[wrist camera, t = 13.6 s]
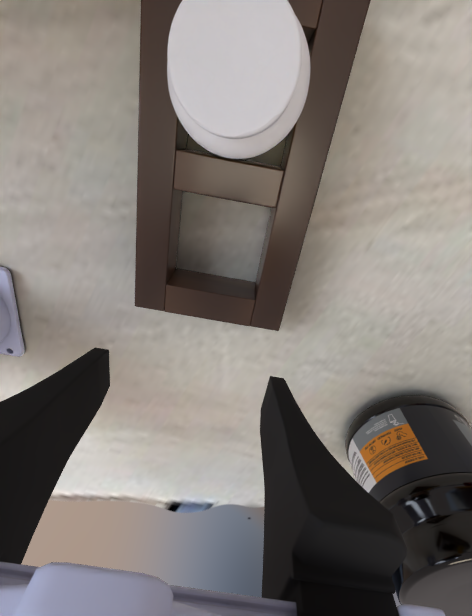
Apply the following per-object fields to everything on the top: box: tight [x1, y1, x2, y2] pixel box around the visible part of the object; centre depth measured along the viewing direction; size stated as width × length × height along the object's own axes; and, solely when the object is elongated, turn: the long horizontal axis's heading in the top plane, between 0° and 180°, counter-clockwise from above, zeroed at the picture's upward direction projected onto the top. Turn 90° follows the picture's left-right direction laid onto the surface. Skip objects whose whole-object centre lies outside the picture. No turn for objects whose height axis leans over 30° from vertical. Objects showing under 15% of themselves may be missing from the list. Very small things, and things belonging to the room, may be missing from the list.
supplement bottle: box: [167, 0, 310, 159], centre depth 13 cm, size 5×5×10 cm
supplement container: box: [345, 395, 472, 616], centre depth 24 cm, size 10×10×12 cm
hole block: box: [135, 0, 370, 331], centre depth 18 cm, size 10×18×3 cm, turn 170°
